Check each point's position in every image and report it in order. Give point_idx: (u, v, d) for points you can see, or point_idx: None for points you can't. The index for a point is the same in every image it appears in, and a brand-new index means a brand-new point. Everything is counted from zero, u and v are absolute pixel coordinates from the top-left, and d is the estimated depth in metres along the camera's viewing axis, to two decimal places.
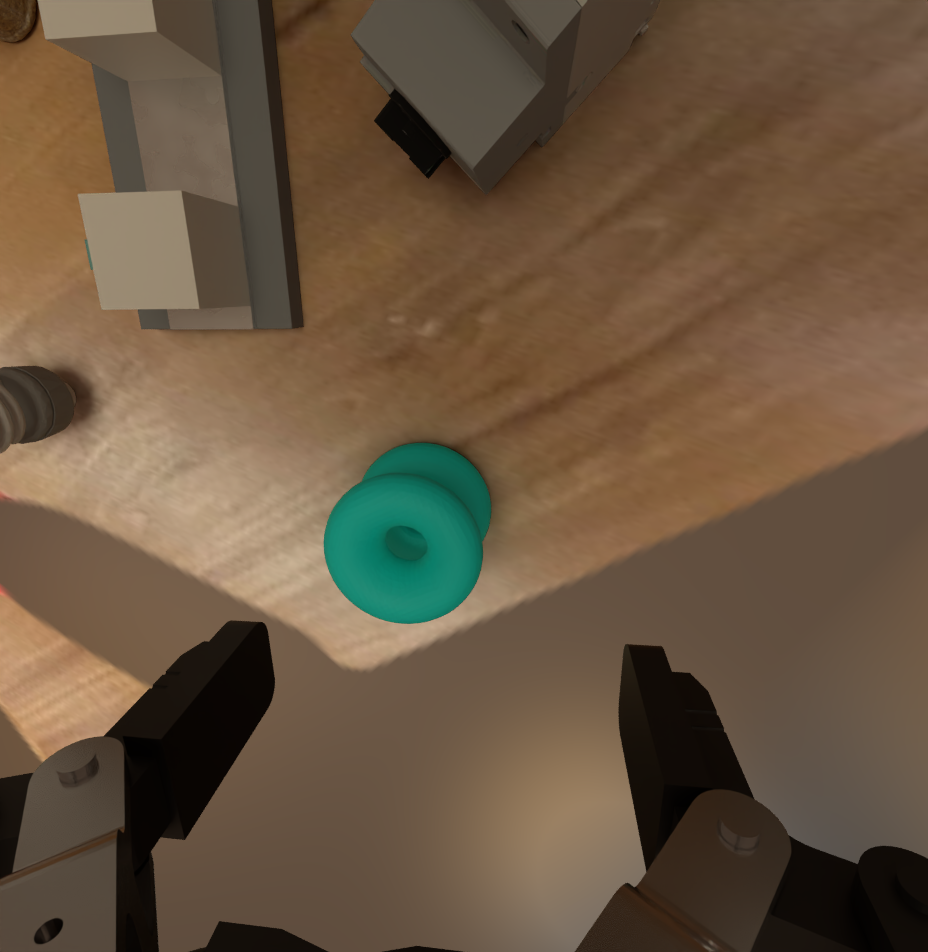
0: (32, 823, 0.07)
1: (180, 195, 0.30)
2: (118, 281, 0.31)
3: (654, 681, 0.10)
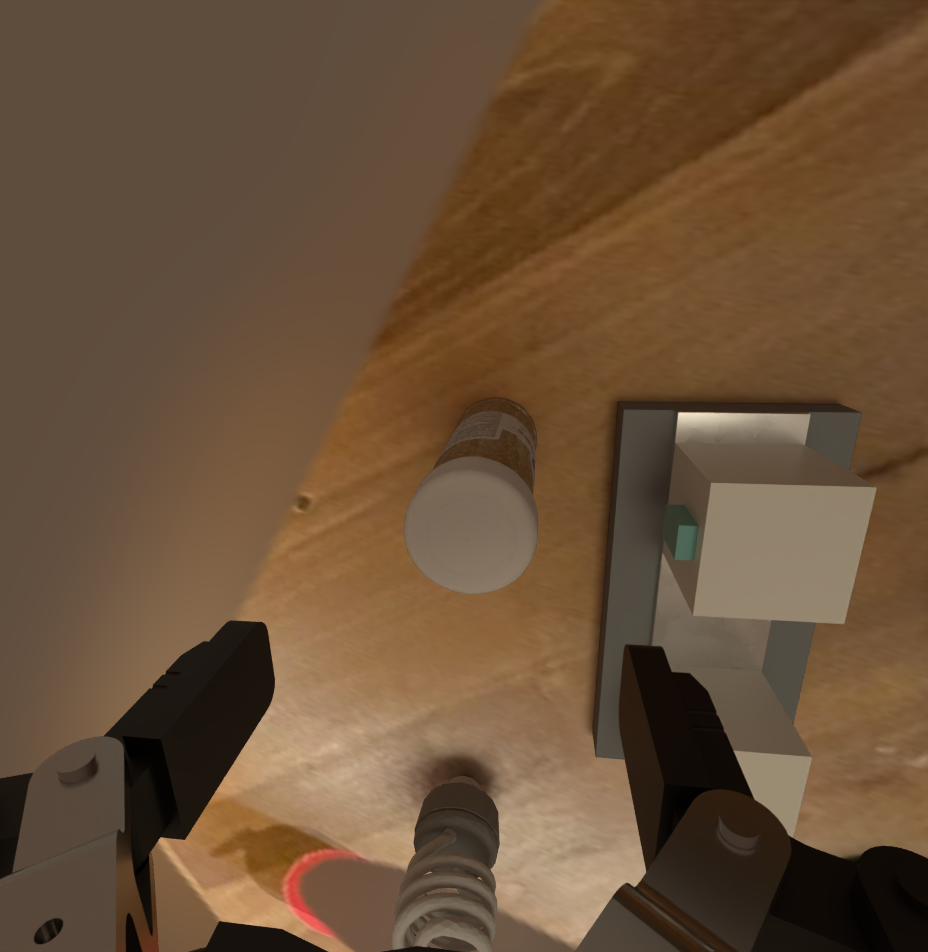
0: (32, 823, 0.07)
1: (808, 760, 0.25)
2: None
3: (654, 681, 0.10)
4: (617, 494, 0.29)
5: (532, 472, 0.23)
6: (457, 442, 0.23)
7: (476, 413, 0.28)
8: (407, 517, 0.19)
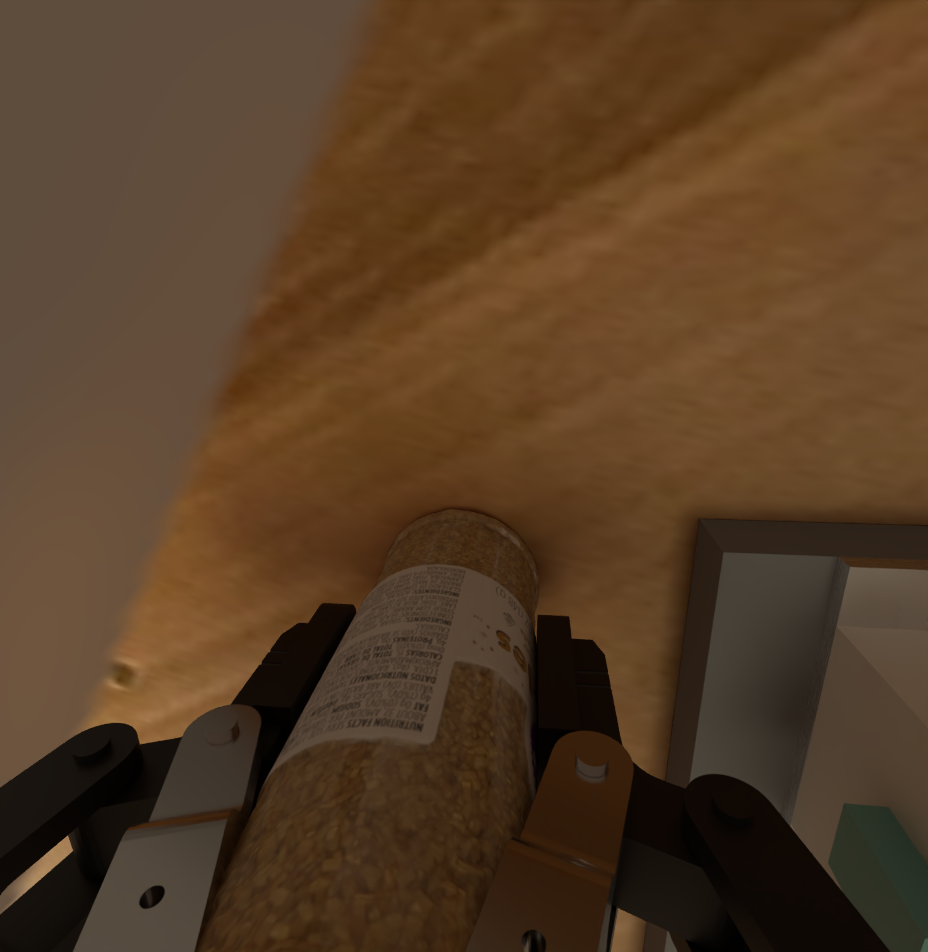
0: (175, 775, 0.08)
1: None
2: None
3: (553, 645, 0.11)
4: (701, 709, 0.14)
5: (532, 801, 0.08)
6: (316, 740, 0.08)
7: (410, 563, 0.13)
8: None
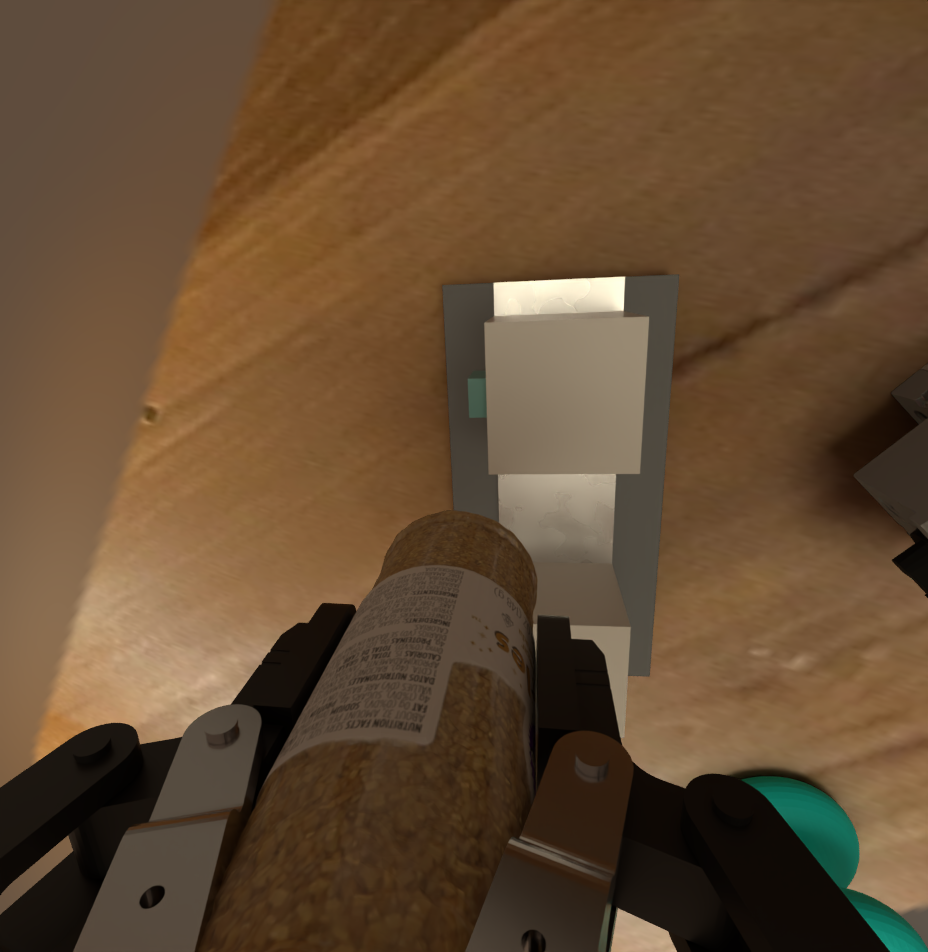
0: (176, 775, 0.08)
1: (627, 630, 0.24)
2: None
3: (553, 645, 0.11)
4: (447, 379, 0.28)
5: (530, 801, 0.09)
6: (315, 741, 0.08)
7: (408, 564, 0.13)
8: None
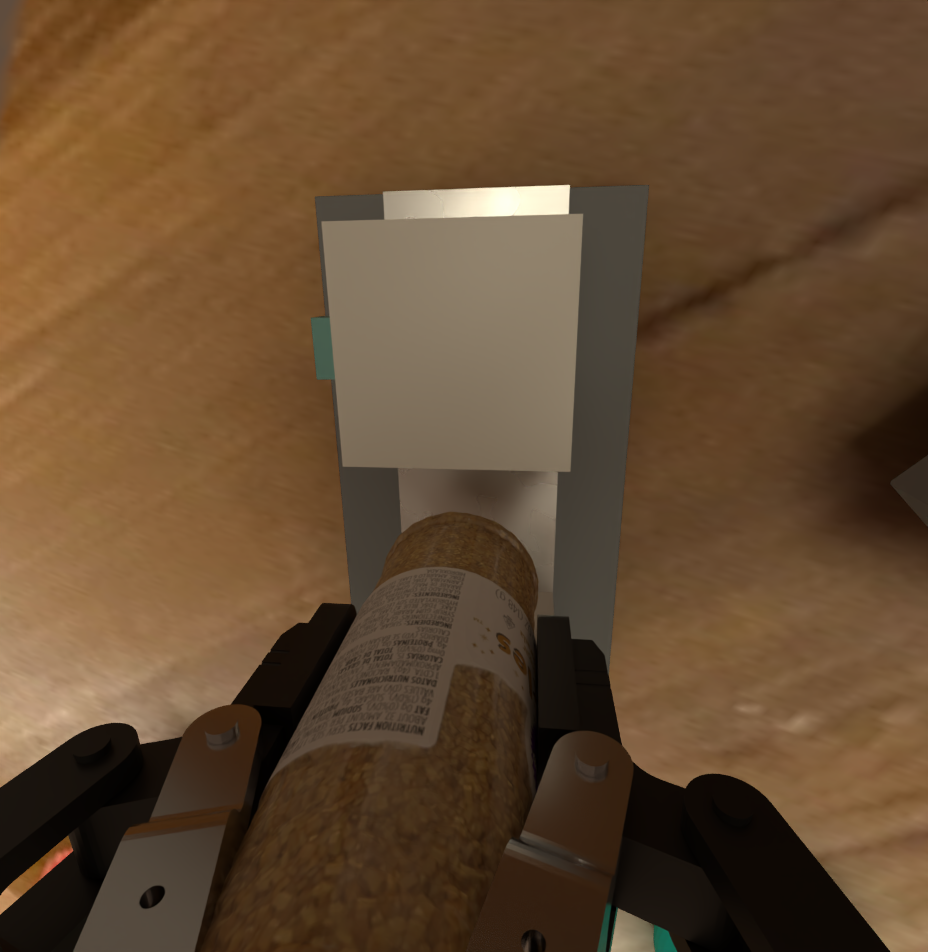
0: (176, 775, 0.08)
1: None
2: None
3: (553, 644, 0.11)
4: None
5: None
6: (318, 744, 0.08)
7: (410, 566, 0.13)
8: None
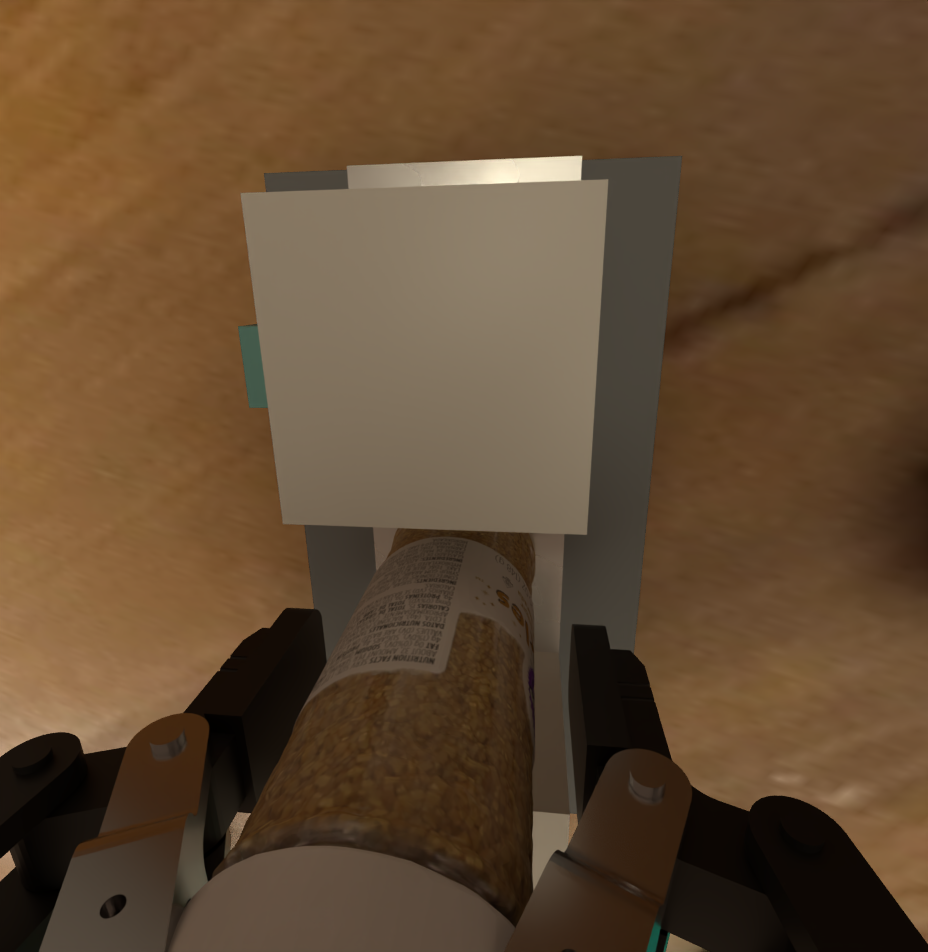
0: (122, 789, 0.08)
1: (564, 820, 0.13)
2: None
3: (592, 656, 0.11)
4: None
5: (530, 727, 0.10)
6: (344, 675, 0.09)
7: (417, 537, 0.14)
8: None
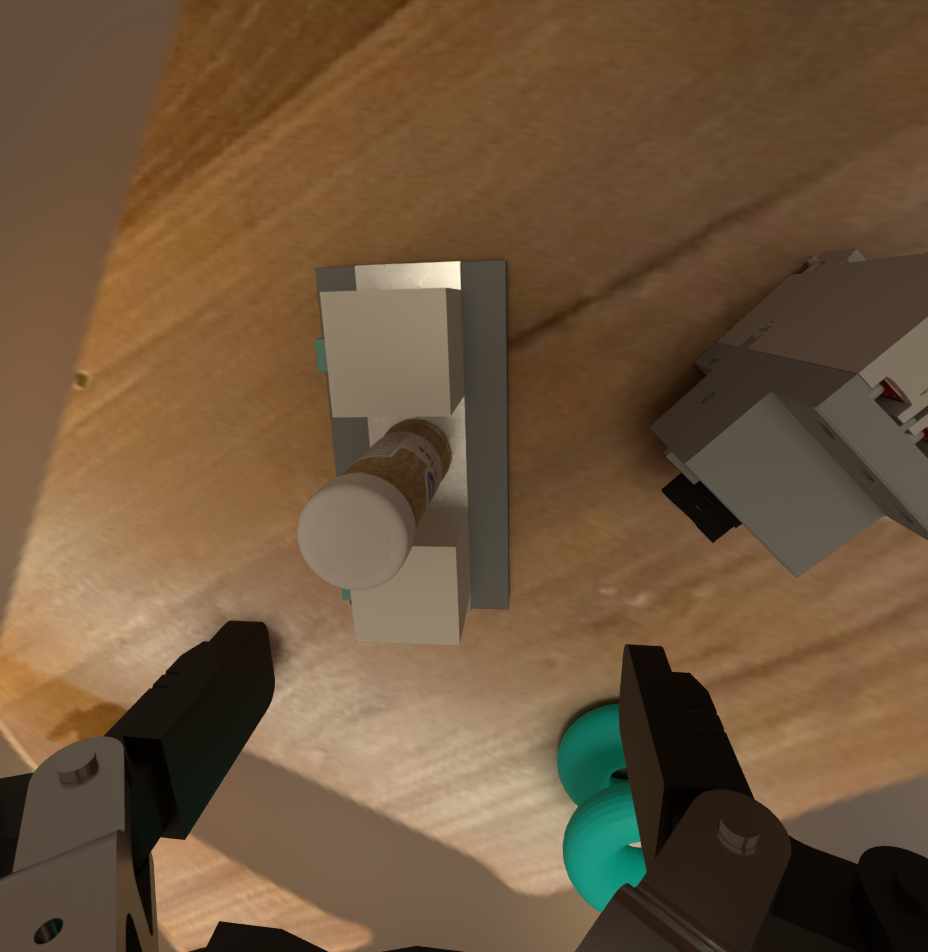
0: (32, 823, 0.07)
1: (454, 550, 0.30)
2: (377, 619, 0.31)
3: (654, 681, 0.10)
4: None
5: (425, 484, 0.27)
6: (357, 461, 0.26)
7: (388, 434, 0.31)
8: (298, 526, 0.22)
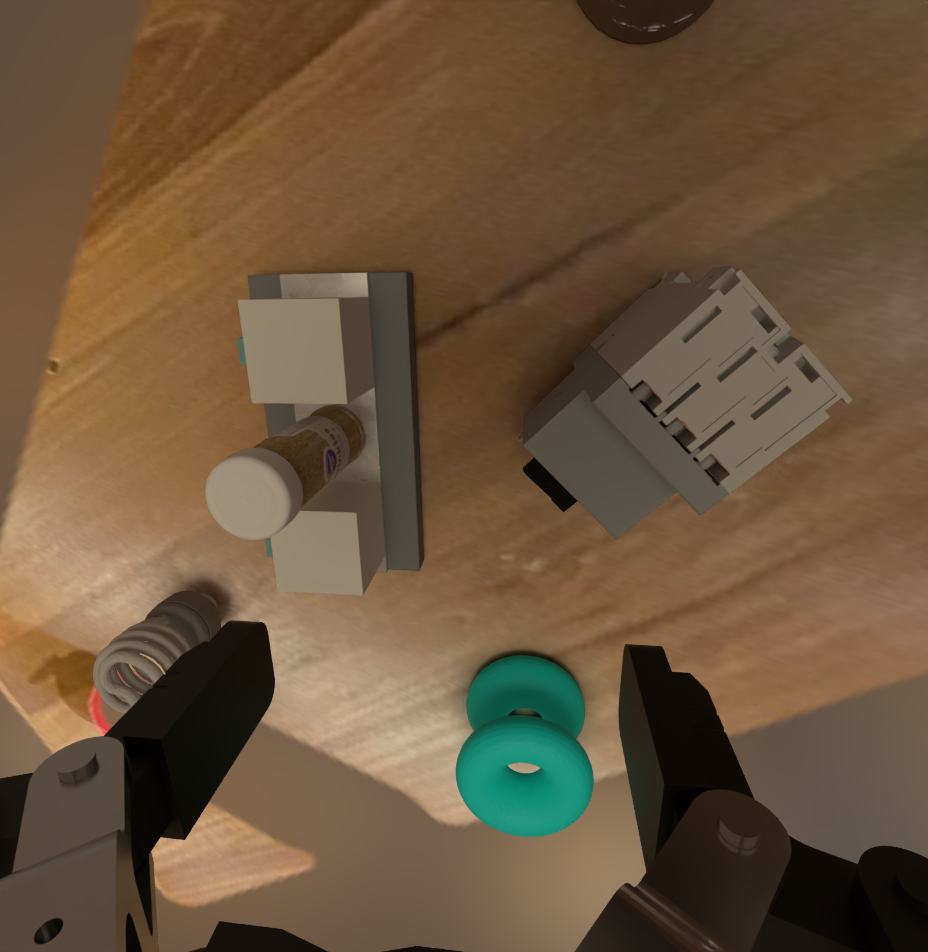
0: (32, 823, 0.07)
1: (355, 515, 0.36)
2: (295, 572, 0.37)
3: (654, 681, 0.10)
4: None
5: (323, 459, 0.33)
6: (266, 439, 0.32)
7: None
8: (205, 488, 0.28)
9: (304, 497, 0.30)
